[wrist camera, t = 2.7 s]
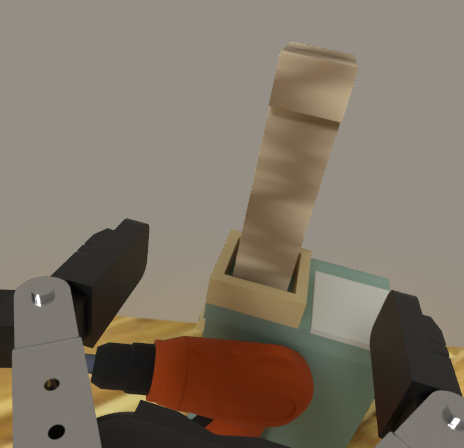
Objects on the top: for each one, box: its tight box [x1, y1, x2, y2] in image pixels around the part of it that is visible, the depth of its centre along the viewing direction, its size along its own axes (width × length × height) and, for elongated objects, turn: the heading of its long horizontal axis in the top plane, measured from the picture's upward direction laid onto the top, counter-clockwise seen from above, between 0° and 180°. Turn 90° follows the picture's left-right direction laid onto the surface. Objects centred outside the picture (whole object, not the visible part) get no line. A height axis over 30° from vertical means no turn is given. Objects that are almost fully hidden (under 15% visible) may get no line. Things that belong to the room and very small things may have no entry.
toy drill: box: [85, 336, 314, 437], centre depth 26 cm, size 5×19×15 cm, turn 96°
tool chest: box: [187, 230, 390, 448], centre depth 31 cm, size 14×8×16 cm, turn 77°
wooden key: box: [233, 42, 358, 291], centre depth 24 cm, size 4×5×15 cm
